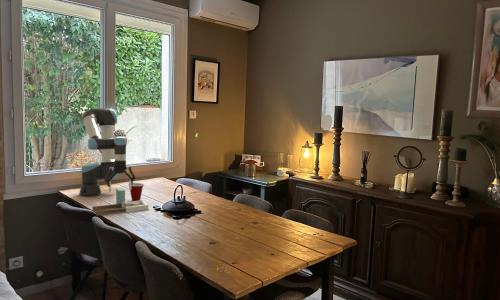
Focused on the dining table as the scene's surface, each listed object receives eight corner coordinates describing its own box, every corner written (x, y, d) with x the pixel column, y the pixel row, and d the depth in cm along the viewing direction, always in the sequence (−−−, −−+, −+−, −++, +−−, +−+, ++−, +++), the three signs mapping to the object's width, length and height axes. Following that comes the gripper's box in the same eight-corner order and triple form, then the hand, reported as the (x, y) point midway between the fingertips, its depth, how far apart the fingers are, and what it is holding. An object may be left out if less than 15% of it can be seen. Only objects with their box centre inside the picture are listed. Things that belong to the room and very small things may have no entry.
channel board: (92, 210, 247) (92, 206, 247) (121, 206, 257) (121, 203, 257) (96, 215, 237) (96, 211, 236) (126, 212, 246) (126, 208, 246)
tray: (121, 206, 257) (121, 202, 257) (142, 204, 265) (142, 200, 264) (126, 212, 246) (126, 207, 246) (148, 209, 254) (148, 204, 253)
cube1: (124, 208, 254) (124, 202, 254) (130, 207, 256) (130, 202, 256) (126, 210, 251) (126, 204, 250) (132, 209, 253) (132, 203, 252)
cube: (131, 208, 255) (131, 202, 254) (137, 207, 257) (137, 201, 256) (132, 209, 252) (132, 204, 251) (139, 209, 254) (138, 203, 253)
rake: (116, 203, 264) (116, 188, 263) (122, 203, 266) (122, 187, 265) (119, 206, 258) (118, 190, 256) (125, 206, 260) (124, 190, 258)
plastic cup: (146, 200, 275) (146, 184, 273) (132, 202, 268) (131, 186, 267) (140, 197, 283) (140, 181, 282) (126, 199, 276) (126, 183, 275)
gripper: (101, 161, 248) (102, 193, 252) (140, 159, 262) (140, 189, 265) (99, 159, 255) (99, 190, 258) (137, 157, 268) (136, 187, 271)
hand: (120, 190), depth 261 cm, fingers open, 13 cm apart
